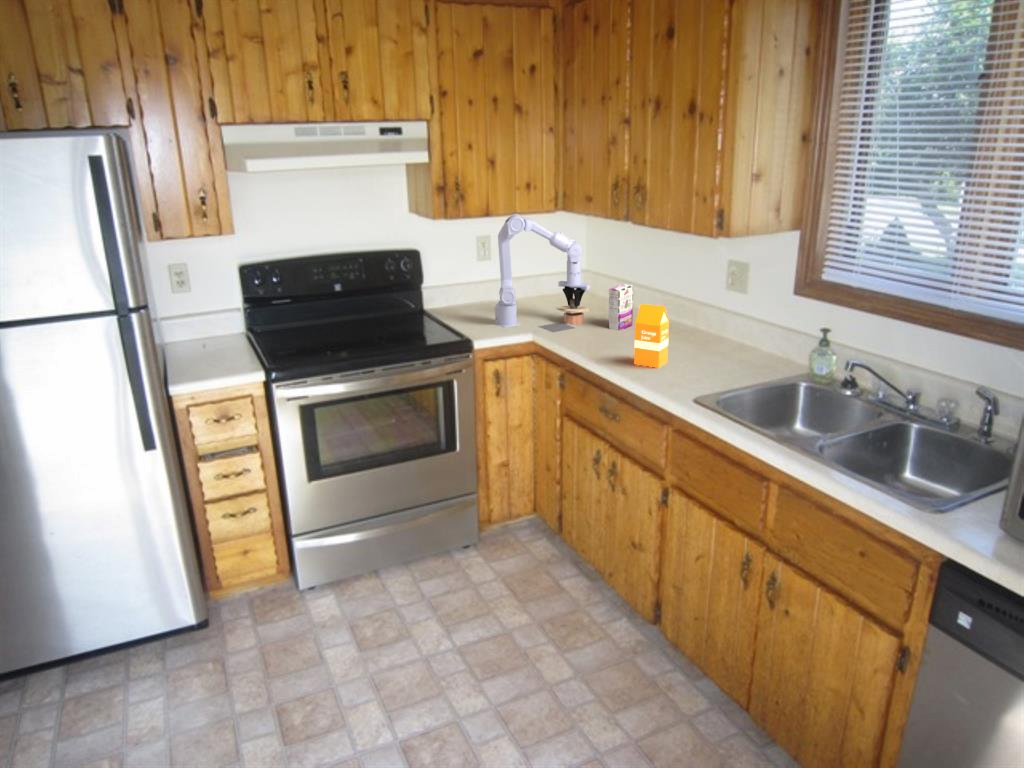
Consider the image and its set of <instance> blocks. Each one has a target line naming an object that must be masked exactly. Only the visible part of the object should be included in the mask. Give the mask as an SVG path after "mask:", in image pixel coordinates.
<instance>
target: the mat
mask: <svg viewBox="0 0 1024 768" xmlns="http://www.w3.org/2000/svg"><path fill="white" fill-rule="evenodd" d="M538 328H540V329H543V330H546V331H548V332H550V333H557V332H562V331H567V330H572V329H576V327H575V326H572V325H570V324H566V323H564V322H554V323H550V324H549V323H548V324H544V325H539V326H538Z"/></svg>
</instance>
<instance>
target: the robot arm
mask: <svg viewBox="0 0 1024 768" xmlns="http://www.w3.org/2000/svg"><path fill="white" fill-rule="evenodd" d="M523 231H524V232H533V233H535V234H537V235H539V236H541V237H543V238H544V239H546V240H548V242H549V245H550V246H552V247H554V248H555V249H557V250H559V251H561V252H563V253H566V254H567V259H566V281H565V280H560V281H558V287H563V288H562V292H563V294H564V296H565V298H566V302H567V306H570V299H575V307H578V306H581V305H580V304H581V301H582V298H583V296H584V293H585V292H586V291H590V290H591V287H590V286H591V285H590V284H587V283H583V282H582V254H583V249H582V248H583V247H582V246H581V245H580V244H579V242H577V241H576V240H574V238H569V237H567V236H566V235H564V232H562V231H560V232H559V231H555V232H552V231H550V230H549V229H547V228H546V227H544V226H542V225H541V224H539V223H537V222H536V221H534V220H533V219H530V218H527V217H526V216H522V215H521V214H518V213H513V214H511V215H510V216H508V217H507V219H506V220H505V222H504V223H503V225H502V227H501V228H500V230H499V232H498V235H497V243H498V244H497V245H498V258H499V260H498V261H499V269H500V272H499V274H500V289H499V301H498V302H497V303H496V304H495V307H494V322H493V324H495V325H497V326H500V327H503V328H511V327H515V326H521V325H522V323H520V322H518V317H517V314H518V309H517V308H518V306H517V302H518V301H516V297H517V295H516V292H515V288H514V287H513V277H512V275H513V272H512V260H511V259H512V258H511V246H510V241H511V240H512V239H513V237H514V236H515V235H518V234H520V233H521V232H523Z"/></svg>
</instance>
